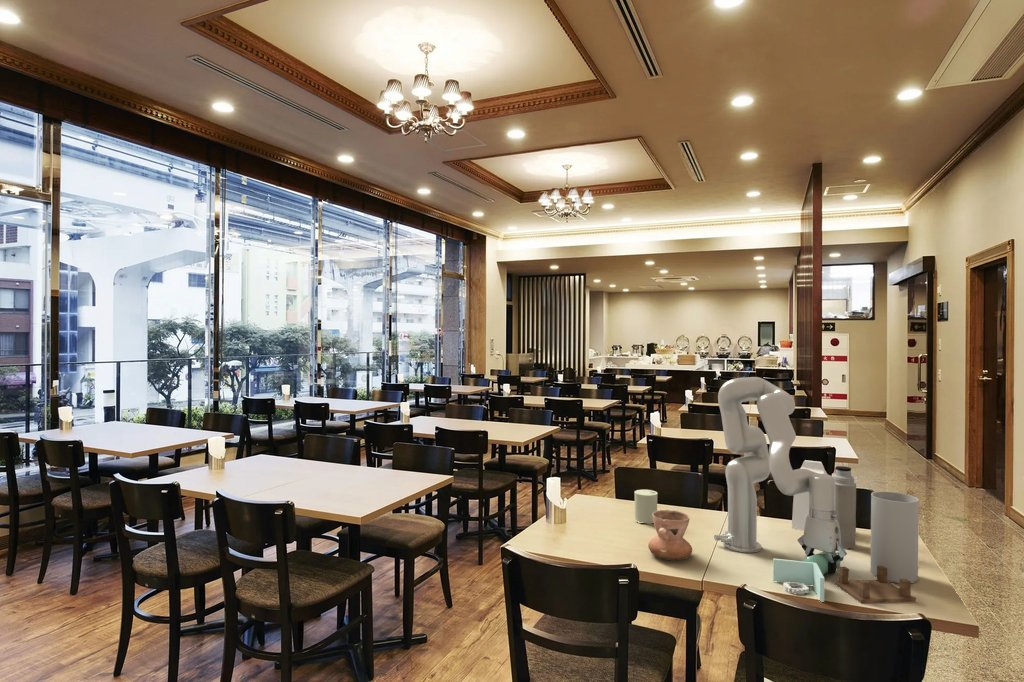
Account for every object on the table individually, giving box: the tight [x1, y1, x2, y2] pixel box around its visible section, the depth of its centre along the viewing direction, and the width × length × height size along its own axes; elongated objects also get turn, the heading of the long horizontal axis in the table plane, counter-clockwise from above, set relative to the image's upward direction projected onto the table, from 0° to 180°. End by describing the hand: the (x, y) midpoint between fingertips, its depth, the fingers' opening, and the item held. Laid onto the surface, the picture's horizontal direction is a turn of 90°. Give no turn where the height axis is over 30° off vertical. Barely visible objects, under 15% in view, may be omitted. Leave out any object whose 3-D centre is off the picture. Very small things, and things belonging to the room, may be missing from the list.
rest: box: [833, 566, 917, 604], centre depth 177 cm, size 16×13×6 cm
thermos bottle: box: [832, 465, 857, 549], centre depth 216 cm, size 8×8×28 cm
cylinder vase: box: [870, 491, 920, 584], centre depth 188 cm, size 12×12×25 cm
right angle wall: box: [772, 558, 825, 603], centre depth 177 cm, size 12×12×8 cm
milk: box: [791, 459, 829, 531], centre depth 235 cm, size 12×12×26 cm
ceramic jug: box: [647, 509, 693, 561], centre depth 206 cm, size 18×14×14 cm
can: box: [633, 489, 658, 523], centre depth 244 cm, size 9×9×12 cm
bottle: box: [802, 551, 845, 576], centre depth 192 cm, size 16×6×6 cm, turn 123°
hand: (821, 569), depth 191 cm, fingers closed on bottle, 6 cm apart
